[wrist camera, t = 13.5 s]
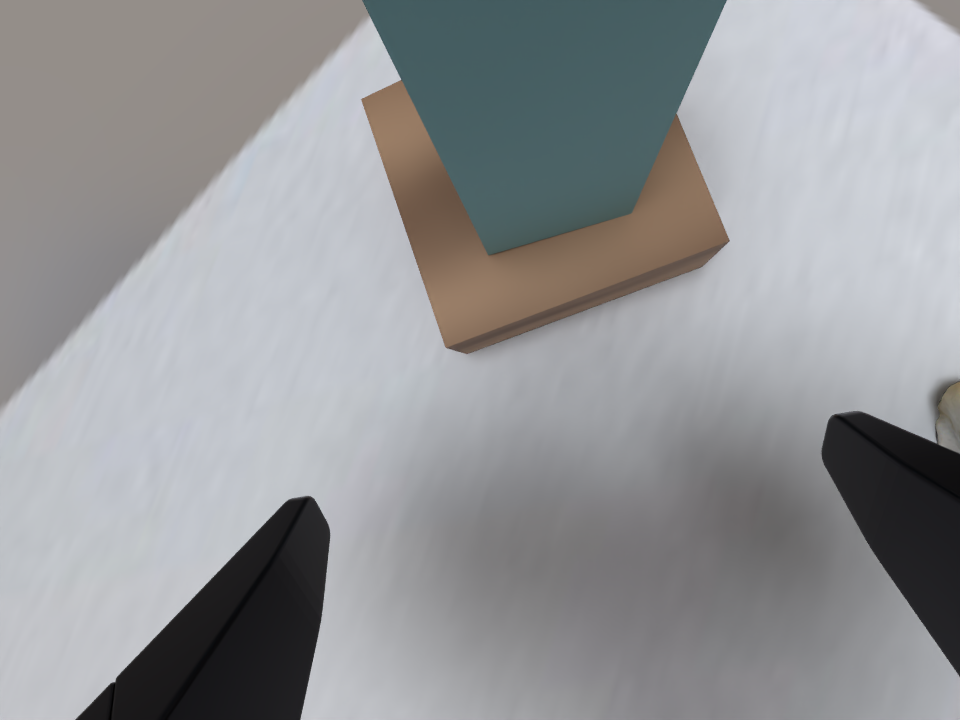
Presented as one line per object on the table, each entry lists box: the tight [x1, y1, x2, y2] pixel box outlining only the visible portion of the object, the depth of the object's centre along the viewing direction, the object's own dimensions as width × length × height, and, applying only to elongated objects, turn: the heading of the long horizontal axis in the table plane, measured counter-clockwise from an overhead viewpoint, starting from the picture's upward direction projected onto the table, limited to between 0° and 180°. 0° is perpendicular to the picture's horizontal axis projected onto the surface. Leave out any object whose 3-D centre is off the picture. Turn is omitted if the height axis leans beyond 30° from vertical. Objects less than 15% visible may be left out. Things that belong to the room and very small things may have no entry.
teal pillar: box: [362, 0, 727, 255], centre depth 11 cm, size 5×5×13 cm
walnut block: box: [361, 80, 729, 354], centre depth 19 cm, size 10×10×4 cm
